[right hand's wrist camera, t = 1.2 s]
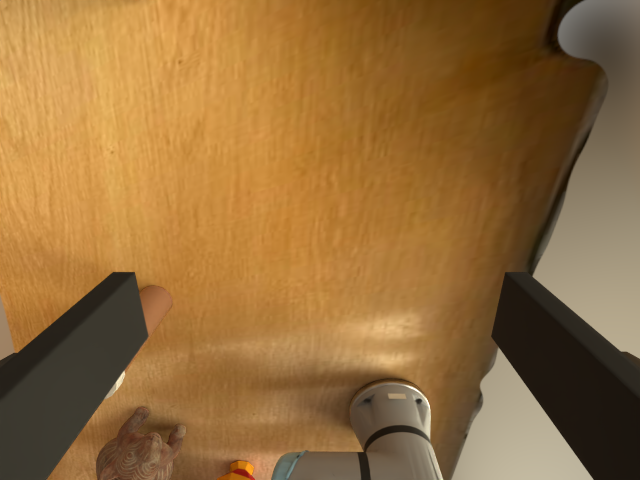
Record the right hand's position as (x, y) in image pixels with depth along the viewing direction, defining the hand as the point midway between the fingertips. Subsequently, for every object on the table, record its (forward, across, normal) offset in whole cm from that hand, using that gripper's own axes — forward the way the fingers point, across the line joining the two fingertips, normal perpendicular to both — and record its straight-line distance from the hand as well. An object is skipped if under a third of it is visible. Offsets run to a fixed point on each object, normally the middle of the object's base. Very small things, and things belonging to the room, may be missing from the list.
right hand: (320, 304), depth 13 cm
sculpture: (+41, +33, +54) cm, 75 cm away
